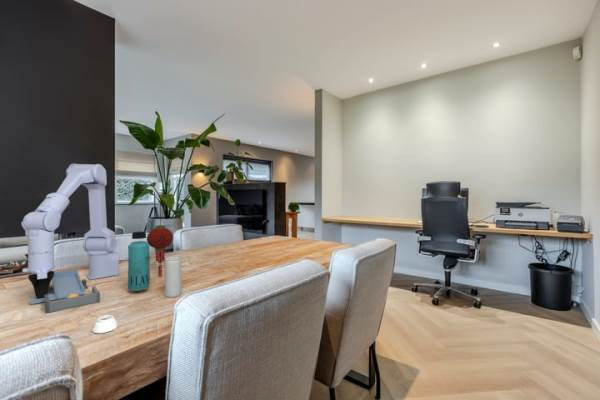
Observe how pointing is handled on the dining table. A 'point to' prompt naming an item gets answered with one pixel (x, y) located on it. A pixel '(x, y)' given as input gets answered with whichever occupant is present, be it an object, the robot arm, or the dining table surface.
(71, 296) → the ball
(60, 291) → the blue-grey piece
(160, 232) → the lantern
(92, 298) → the dish
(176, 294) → the beverage can
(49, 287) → the stand
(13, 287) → the dining table surface
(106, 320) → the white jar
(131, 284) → the beverage bottle
